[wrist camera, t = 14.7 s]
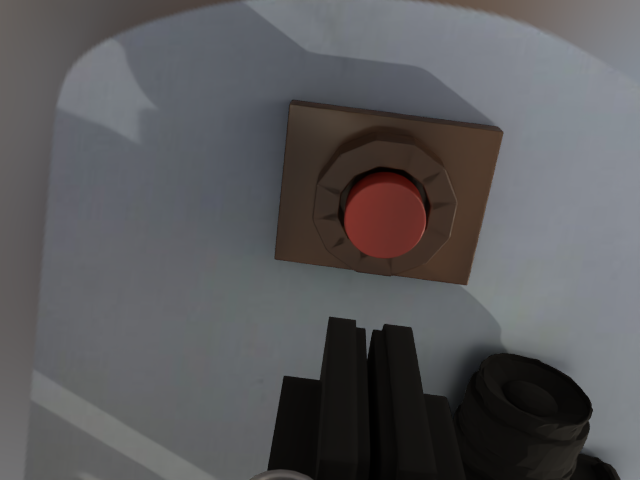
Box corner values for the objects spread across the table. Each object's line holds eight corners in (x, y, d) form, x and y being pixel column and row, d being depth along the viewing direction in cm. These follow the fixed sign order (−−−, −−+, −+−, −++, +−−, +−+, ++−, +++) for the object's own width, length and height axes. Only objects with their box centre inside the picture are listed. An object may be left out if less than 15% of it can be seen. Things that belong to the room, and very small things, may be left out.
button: (340, 238, 29) (339, 253, 27) (350, 166, 27) (349, 177, 26) (415, 249, 29) (418, 264, 27) (429, 176, 27) (433, 188, 26)
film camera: (662, 382, 34) (760, 509, 25) (595, 509, 37) (662, 657, 29) (398, 322, 33) (409, 431, 25) (356, 456, 37) (354, 590, 29)
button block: (277, 250, 32) (269, 274, 29) (292, 99, 29) (284, 110, 26) (463, 275, 32) (473, 302, 29) (498, 126, 29) (512, 140, 26)
